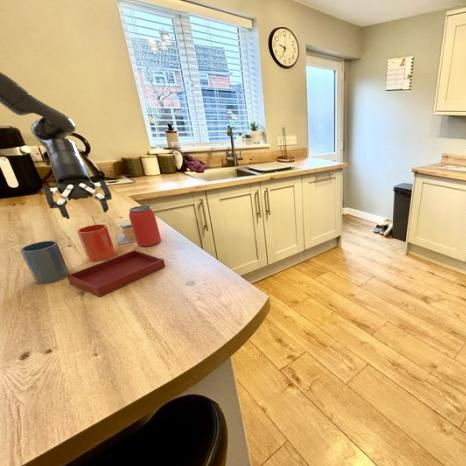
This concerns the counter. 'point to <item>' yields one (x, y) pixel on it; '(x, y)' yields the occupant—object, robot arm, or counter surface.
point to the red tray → (115, 272)
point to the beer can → (144, 225)
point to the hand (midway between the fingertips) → (87, 214)
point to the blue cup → (45, 261)
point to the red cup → (96, 242)
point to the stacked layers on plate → (126, 232)
